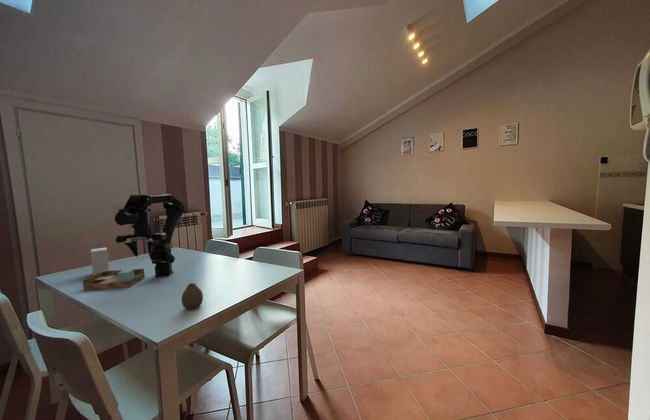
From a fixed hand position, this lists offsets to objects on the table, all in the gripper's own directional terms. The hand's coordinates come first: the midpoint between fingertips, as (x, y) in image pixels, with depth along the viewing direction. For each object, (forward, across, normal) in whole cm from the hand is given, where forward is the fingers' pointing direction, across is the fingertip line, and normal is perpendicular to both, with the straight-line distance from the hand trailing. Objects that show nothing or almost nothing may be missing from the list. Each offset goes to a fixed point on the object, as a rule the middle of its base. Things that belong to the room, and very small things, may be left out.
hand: (143, 256), depth 119 cm
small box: (+13, +31, -21) cm, 40 cm away
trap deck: (+13, +14, -3) cm, 19 cm away
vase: (+13, -30, +31) cm, 45 cm away
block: (+10, +8, 0) cm, 13 cm away
